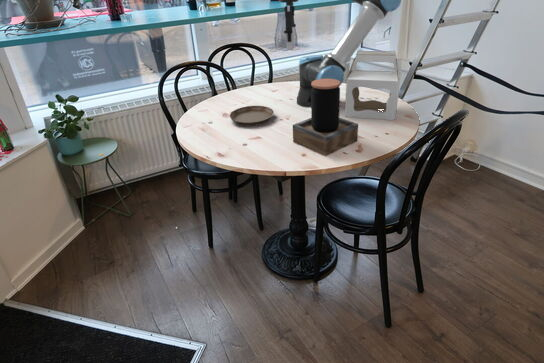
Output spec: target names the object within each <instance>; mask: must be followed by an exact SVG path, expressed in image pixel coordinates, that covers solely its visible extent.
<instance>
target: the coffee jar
mask: <svg viewBox="0 0 544 363" xmlns="http://www.w3.org/2000/svg"><path fill="white" fill-rule="evenodd" d="M311 86H312V90H311V107H310V108H311V111H310V112H311V114H310V115H311V117H310V118H311V126H312V127H313V129H314V130H315V131H317V132H322V133H327V132H333V131H335V130H336V129H337V128H338V126H339V118H340V104H341V103H340V101H341V88H340V86H341V85H340V81H339V80H336V79H318V80H314V81H313V82H312V83H311Z"/></svg>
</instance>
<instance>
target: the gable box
mask: <svg viewBox="0 0 544 363" xmlns="http://www.w3.org/2000/svg"><path fill="white" fill-rule="evenodd" d="M356 51H357V52H355V57H354V58H353V57H351V58H350V59H349V66H348V71H349V72H348V73H347V78H346V84H345V85H346V87H345V108H344V110H345V111H344V116H345V117H346V118H355V119H356V118H357V119H369V118H371V120H372V119H373V120H383V119H386V120H387V121H395V118H396V114H397V111H396V110H397V109H398V101H399V92H400V85H401V84H400V82H401V78H402V77H401V75H402V58H399V59H398V58H397V52H396V51H394V50H356ZM358 63H390V64H393V71H391V70H390V71H389V70H388V71H387V70H385V71H384V70H378V71H377V70H357V64H358ZM359 88H368V89H373V90H379V89H380V90H381V89H382V90H383V89H384V90H388V91H389V97H388V99H387V101H386V102H382V101H379V100H375V99H374V100H373V99H372V100H362V101H361V100H360V90H359ZM378 109H384V110H382V111H383V112H382V111H380V110H378ZM378 111H379V112H378ZM386 120H385V121H386Z"/></svg>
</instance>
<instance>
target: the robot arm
mask: <svg viewBox="0 0 544 363" xmlns="http://www.w3.org/2000/svg"><path fill="white" fill-rule="evenodd" d="M351 1H352V2H354V3H357V4H359V5H360V6H362V9H361V10H360V12H359V13H358V15H357V16H356V17H355V19H354V20H353V21H352V23H351V25H350V26H349V27H348V28H347V30H346V31H345V32H344V34H343V36H341V38H340V40H339V41H338V42H337V44H336V45H335V46H334V48H333V50H332V51H331V52H330V53H326V54H325V55H322V54H312V55H311V54H310V55H305V56H301V57H300V58H299V61H298V62H299V63H298V66H299V67H298V69H299V70H298V71H299V72H298V74H299V75H298V76H299V90H298V93H297V97H296V105H298V106H301V107H306V108H311V90H312V86H311V83H312V82H313V81H314V80H318V79H336V80H339V81H340V86H341V85H342V84H343V82H344V76H345V75H344V74H345V72H346V69H347V67H346V64H347V63H349V62H350V58H352V56H353V55H354V54H355V53H356V51H358V48H359V47H360V46H361V44H362V43H363V42H364V40H365V39H366V37H367V36H368V35H369V33H370V32H371V31H372V29H373V28H374V27H375V25H376V23H377V22H378V21H380V20H383V19H385V17H386V16H387V15H388V13H390V12H393V11H396V10H397V9H398V8H399V7H400V5H401V3H402V0H351ZM279 2H281V3H285V6H284V18H285V30H284V31H283V33H284V34H285V41H286V42H285V44H286V51H293V50H294V44H295V43H296V40H295V38H296V37H295V28H296V27H297V25H296V23H295V19H294V18H295V10H296V6H295V5H294V3H297V2H299V0H279Z"/></svg>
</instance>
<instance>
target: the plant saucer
mask: <svg viewBox="0 0 544 363" xmlns="http://www.w3.org/2000/svg"><path fill="white" fill-rule="evenodd" d="M274 114H275V111H274V109H272V108H271V107H268V106H265V105H248V106H242V107H238V108H237V109H235V110H233V111H231V112H230V114H229V118H230V120H231V121H233V122H234V123H235V124H236V125H240V126H244V127H256V126H260V125H263V124H266V123H267V122H268V123H269V121H270V120H272V117H273V116H274Z"/></svg>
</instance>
